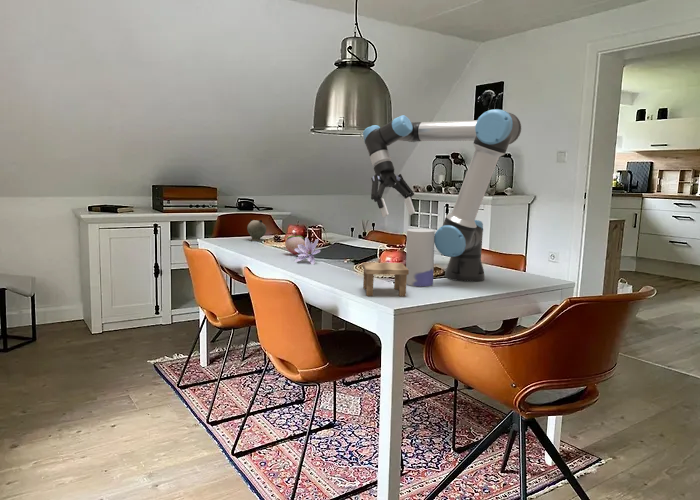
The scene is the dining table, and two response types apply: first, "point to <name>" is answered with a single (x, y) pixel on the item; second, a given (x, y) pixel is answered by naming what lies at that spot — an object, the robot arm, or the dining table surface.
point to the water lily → (307, 251)
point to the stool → (385, 268)
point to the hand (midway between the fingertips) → (399, 214)
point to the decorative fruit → (293, 243)
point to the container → (420, 257)
